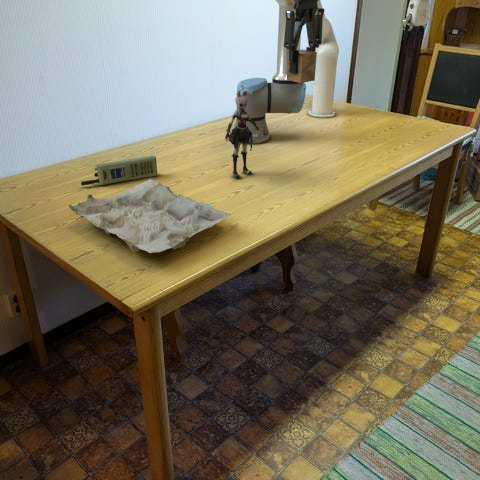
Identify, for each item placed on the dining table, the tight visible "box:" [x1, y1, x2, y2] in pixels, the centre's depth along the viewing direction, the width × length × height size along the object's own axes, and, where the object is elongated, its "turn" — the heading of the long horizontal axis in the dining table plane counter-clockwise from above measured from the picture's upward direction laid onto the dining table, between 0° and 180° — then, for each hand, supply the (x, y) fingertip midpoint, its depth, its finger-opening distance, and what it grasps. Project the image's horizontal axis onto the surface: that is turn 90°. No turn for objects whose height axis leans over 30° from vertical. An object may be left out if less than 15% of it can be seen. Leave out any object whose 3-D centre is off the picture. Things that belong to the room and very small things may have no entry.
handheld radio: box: [80, 155, 159, 187], centre depth 164 cm, size 7×3×25 cm
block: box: [287, 48, 317, 83], centre depth 150 cm, size 6×6×8 cm
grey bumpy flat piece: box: [68, 178, 232, 254], centre depth 138 cm, size 38×6×30 cm
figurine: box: [224, 86, 260, 179], centre depth 165 cm, size 15×6×30 cm, turn 132°
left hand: (301, 71), depth 151 cm, fingers closed on block, 6 cm apart
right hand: (412, 39), depth 216 cm, fingers open, 9 cm apart
